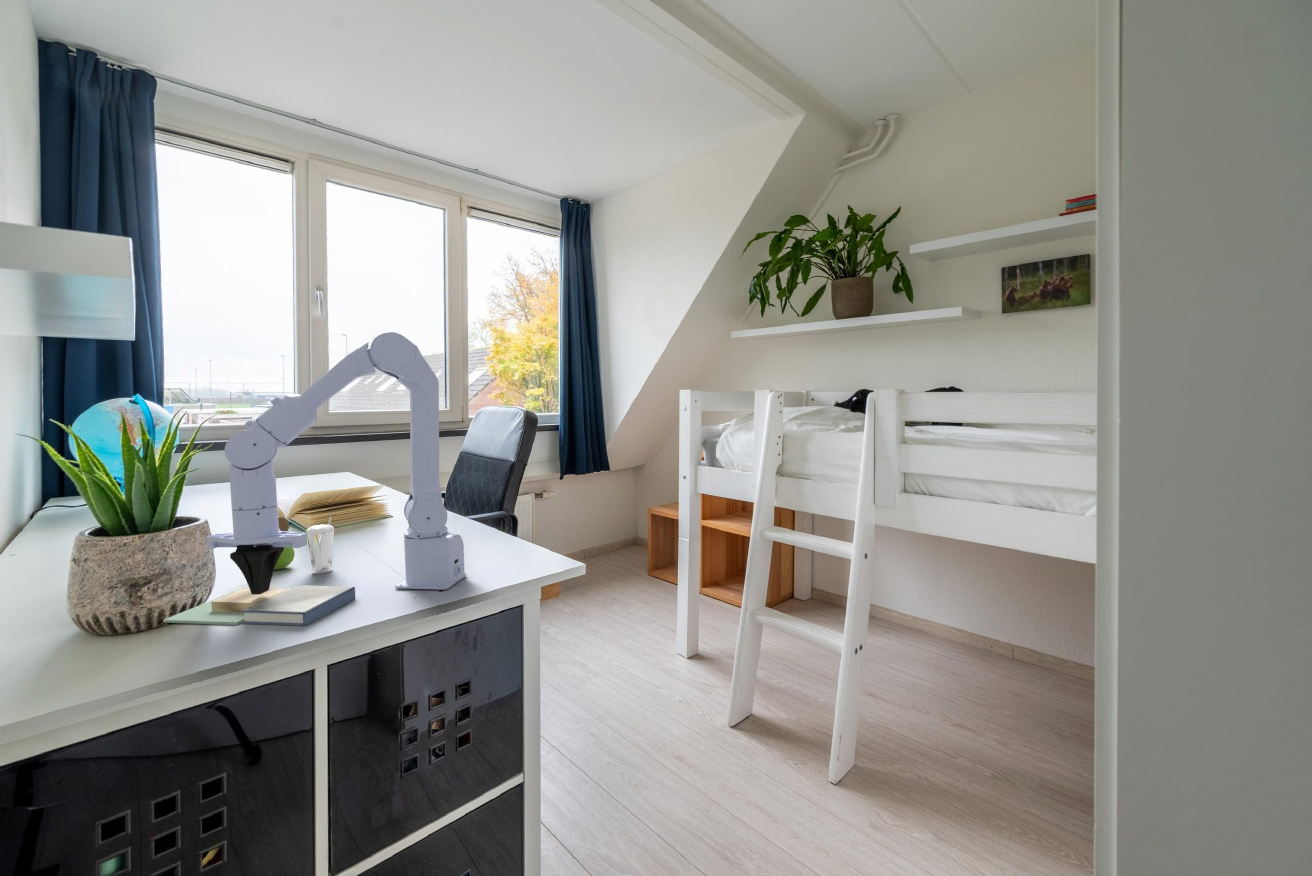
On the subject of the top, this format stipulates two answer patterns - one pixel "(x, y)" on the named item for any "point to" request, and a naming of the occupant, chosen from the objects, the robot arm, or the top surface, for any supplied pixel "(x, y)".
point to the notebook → (299, 605)
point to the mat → (207, 616)
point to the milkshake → (321, 547)
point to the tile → (242, 600)
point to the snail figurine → (288, 552)
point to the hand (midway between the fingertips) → (260, 592)
